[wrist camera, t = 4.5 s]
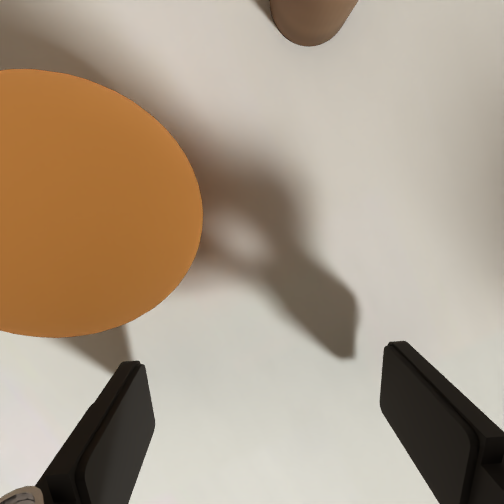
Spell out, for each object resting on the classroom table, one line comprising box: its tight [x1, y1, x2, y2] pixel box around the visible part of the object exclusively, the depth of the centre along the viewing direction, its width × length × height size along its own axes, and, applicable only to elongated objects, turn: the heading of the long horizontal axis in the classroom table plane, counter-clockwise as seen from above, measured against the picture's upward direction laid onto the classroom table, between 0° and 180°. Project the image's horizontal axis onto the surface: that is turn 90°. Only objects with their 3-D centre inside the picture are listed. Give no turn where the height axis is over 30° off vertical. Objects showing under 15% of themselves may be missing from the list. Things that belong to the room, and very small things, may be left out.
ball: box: [0, 69, 203, 338], centre depth 7 cm, size 6×6×6 cm
